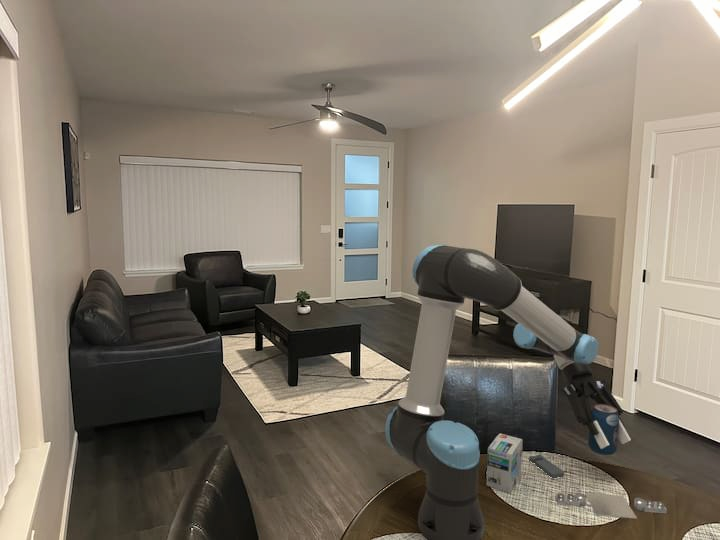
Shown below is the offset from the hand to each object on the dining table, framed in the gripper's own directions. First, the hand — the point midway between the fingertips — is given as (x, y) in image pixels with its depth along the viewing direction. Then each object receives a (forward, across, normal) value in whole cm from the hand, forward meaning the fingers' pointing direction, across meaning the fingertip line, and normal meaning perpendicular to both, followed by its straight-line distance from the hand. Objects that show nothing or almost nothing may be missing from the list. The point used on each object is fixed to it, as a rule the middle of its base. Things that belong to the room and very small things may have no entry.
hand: (616, 444), depth 132 cm
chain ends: (+13, +7, -5) cm, 15 cm away
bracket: (-1, +9, -20) cm, 22 cm away
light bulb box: (-1, +24, -19) cm, 31 cm away
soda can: (0, 0, -6) cm, 6 cm away
